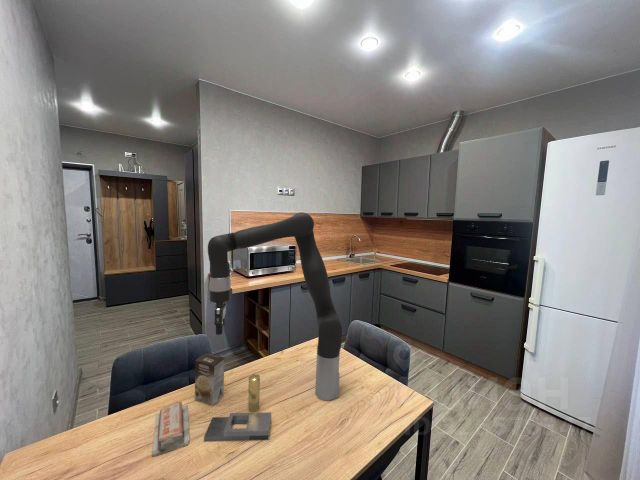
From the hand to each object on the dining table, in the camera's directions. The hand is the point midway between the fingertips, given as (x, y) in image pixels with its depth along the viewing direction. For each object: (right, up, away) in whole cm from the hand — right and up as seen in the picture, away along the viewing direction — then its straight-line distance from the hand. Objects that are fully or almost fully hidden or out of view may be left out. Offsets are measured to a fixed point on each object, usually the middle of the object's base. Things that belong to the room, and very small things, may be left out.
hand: (220, 329), depth 100 cm
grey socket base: (+11, -29, -13) cm, 34 cm away
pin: (+14, -28, -3) cm, 32 cm away
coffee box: (-5, -27, +1) cm, 28 cm away
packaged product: (-11, -29, -14) cm, 34 cm away
